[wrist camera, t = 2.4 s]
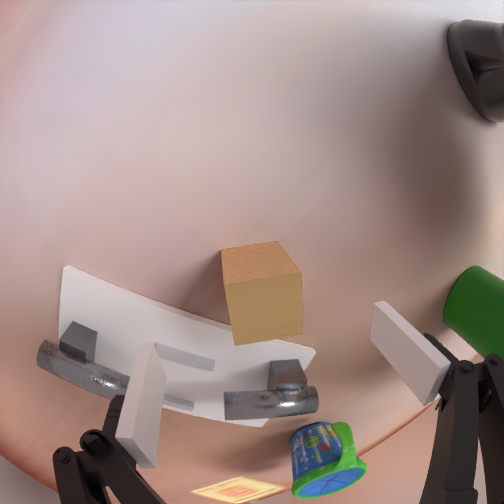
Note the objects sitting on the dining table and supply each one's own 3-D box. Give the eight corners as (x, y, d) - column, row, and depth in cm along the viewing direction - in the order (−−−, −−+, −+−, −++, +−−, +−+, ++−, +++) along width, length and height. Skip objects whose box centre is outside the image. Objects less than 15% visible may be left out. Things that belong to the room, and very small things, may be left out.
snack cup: (303, 402, 32) (326, 463, 22) (364, 401, 34) (392, 451, 24) (264, 457, 36) (275, 507, 26) (319, 455, 38) (334, 498, 29)
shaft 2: (306, 358, 28) (323, 393, 23) (299, 389, 29) (312, 423, 24) (222, 361, 26) (225, 401, 21) (222, 393, 28) (225, 431, 23)
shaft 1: (58, 347, 24) (39, 378, 19) (59, 314, 23) (35, 344, 17) (141, 382, 26) (132, 418, 21) (149, 351, 25) (139, 389, 20)
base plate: (67, 264, 22) (58, 272, 20) (313, 347, 29) (319, 359, 27) (61, 362, 26) (55, 372, 24) (260, 421, 32) (262, 433, 30)
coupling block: (221, 249, 24) (223, 284, 17) (277, 241, 24) (301, 271, 18) (229, 299, 25) (234, 346, 19) (281, 291, 26) (302, 334, 19)
